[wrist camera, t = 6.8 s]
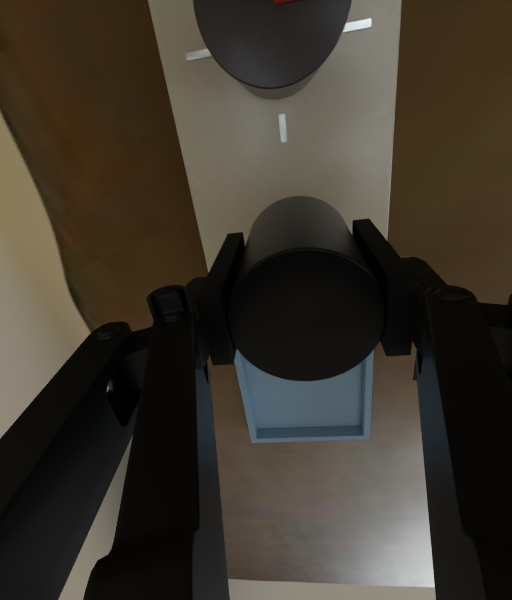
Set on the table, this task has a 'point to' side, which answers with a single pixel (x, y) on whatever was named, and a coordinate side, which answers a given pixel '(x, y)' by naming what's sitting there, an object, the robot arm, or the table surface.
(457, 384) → the robot arm
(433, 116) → the table surface
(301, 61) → the knob
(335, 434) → the tray
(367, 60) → the dial control panel
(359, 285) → the tin
